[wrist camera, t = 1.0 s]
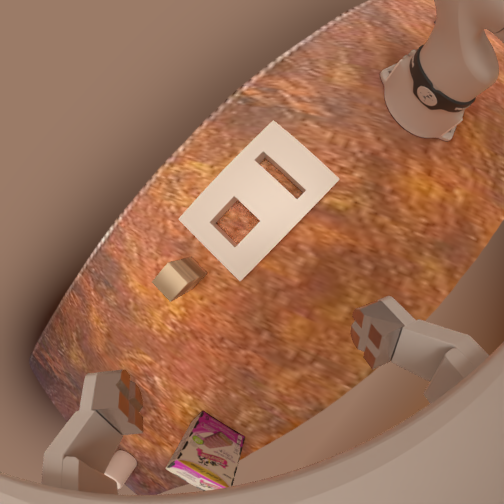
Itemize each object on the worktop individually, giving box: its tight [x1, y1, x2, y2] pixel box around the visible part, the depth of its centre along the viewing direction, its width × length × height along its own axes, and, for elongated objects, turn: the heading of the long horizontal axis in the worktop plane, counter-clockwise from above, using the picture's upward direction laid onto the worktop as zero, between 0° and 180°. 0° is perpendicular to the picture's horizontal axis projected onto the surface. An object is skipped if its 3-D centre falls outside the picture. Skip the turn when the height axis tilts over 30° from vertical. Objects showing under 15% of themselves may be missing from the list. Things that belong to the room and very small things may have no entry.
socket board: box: [179, 120, 339, 281], centre depth 44 cm, size 22×14×4 cm, turn 136°
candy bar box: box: [166, 411, 245, 491], centre depth 42 cm, size 11×5×16 cm, turn 54°
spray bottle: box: [104, 450, 137, 489], centre depth 46 cm, size 7×7×18 cm
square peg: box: [152, 257, 207, 302], centre depth 43 cm, size 4×4×10 cm
